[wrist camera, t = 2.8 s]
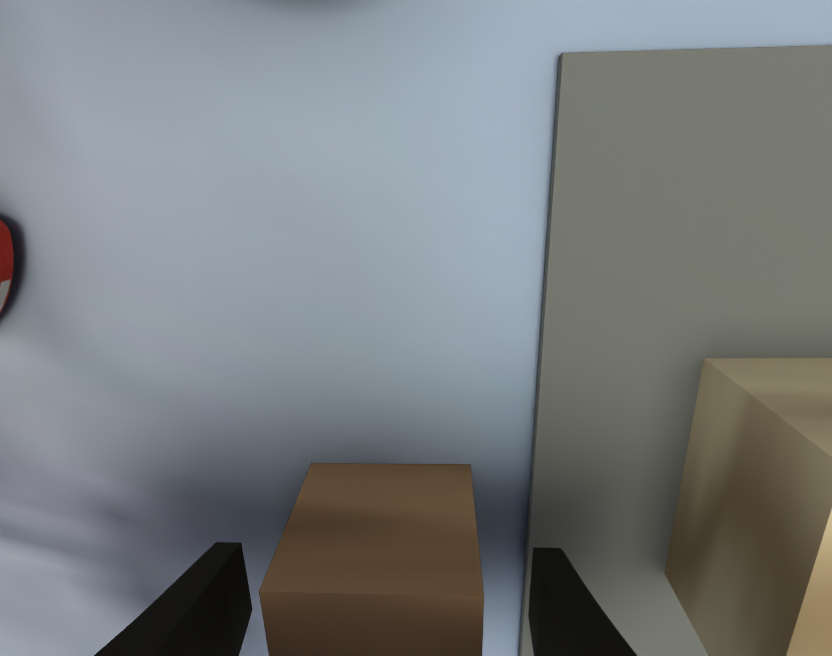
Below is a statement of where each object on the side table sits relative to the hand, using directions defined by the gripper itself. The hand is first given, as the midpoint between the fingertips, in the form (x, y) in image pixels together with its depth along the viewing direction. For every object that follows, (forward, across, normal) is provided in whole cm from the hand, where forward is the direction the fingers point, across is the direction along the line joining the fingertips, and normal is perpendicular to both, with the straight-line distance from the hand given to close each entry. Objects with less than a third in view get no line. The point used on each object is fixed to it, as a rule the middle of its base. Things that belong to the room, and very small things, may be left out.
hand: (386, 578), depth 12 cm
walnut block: (+2, 0, 0) cm, 2 cm away
